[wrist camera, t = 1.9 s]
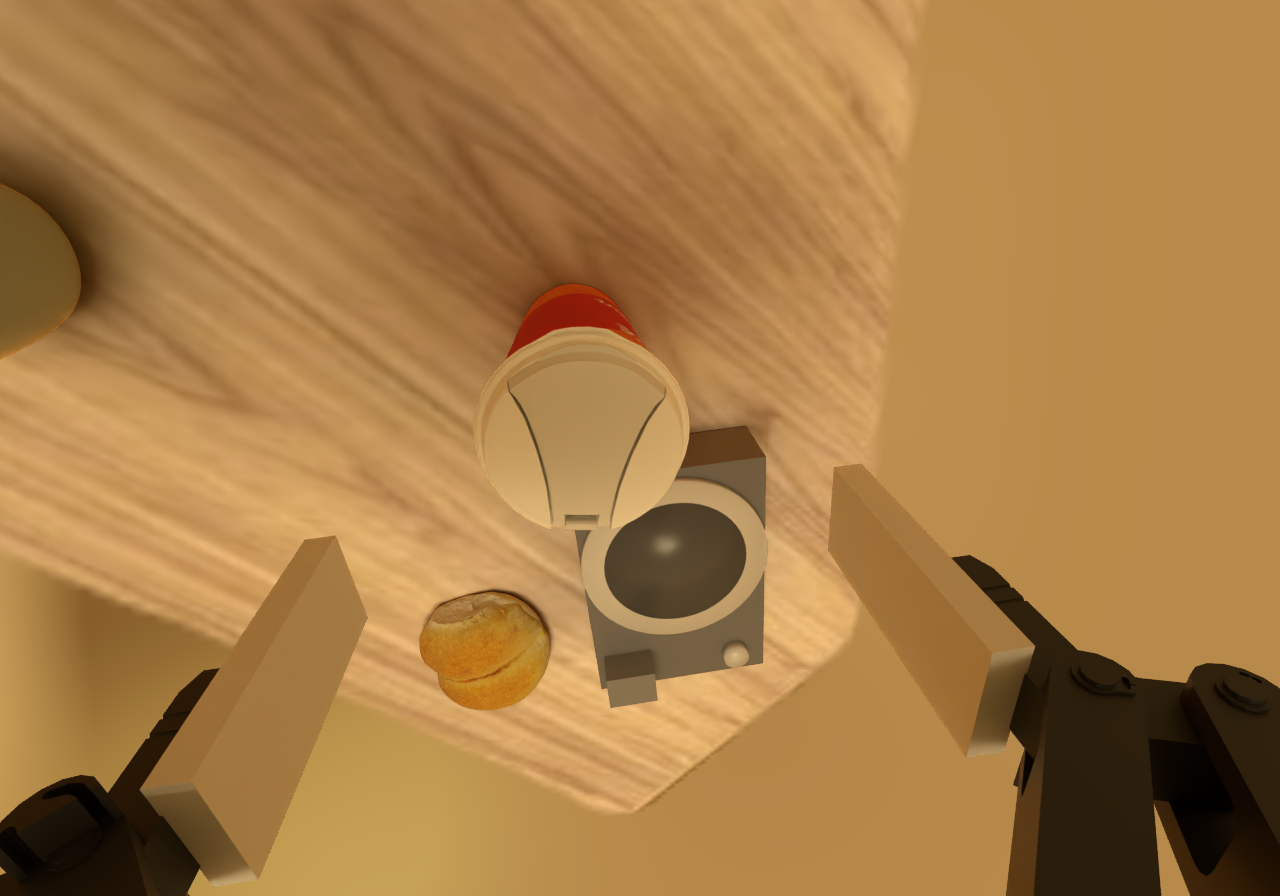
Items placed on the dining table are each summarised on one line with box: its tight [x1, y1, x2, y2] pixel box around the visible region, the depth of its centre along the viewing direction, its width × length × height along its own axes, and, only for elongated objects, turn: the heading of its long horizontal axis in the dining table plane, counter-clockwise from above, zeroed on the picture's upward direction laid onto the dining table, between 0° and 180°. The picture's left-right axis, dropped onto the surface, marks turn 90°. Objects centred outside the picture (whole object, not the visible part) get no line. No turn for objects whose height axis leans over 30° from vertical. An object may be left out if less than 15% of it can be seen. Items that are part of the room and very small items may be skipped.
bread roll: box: [419, 592, 550, 710], centre depth 40 cm, size 8×9×4 cm
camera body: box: [575, 426, 768, 708], centre depth 37 cm, size 16×11×6 cm
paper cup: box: [473, 284, 690, 530], centre depth 26 cm, size 8×8×14 cm
